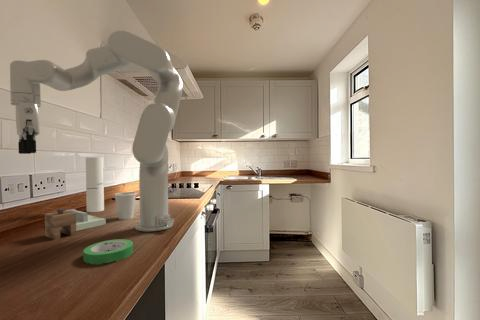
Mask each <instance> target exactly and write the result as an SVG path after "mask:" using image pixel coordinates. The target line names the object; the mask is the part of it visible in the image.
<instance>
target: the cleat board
mask: <svg viewBox="0 0 480 320" xmlns="http://www.w3.org/2000/svg"><path fill="white" fill-rule="evenodd" d="M64 211H69V212H74V213H76V232H77V231H81V230H86V229H91V228H96V227H99V226H104V225H106V224H107V223H106V222H107V221H106V218H103V217H99V216H95V215H90V214H88V213H89V212H87V211H85V212H84V211H82V210H77V209H76V208H72V209H66V210H64ZM60 230H61V227H60Z"/></svg>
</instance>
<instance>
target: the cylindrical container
mask: <svg viewBox="0 0 480 320" xmlns="http://www.w3.org/2000/svg"><path fill="white" fill-rule="evenodd" d="M104 185H105V184H104V157H102V156H101V157H100V156H99V157H96V156H95V157H92V156H91V157H85V187H86V189H85V192H86V196H85V197H86V199H85V200H86V202H85V203H86V213H98V212H103V211H105V195H104V194H105V191H104V190H105V189H104V187H105V186H104Z"/></svg>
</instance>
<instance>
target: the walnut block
mask: <svg viewBox="0 0 480 320" xmlns="http://www.w3.org/2000/svg"><path fill="white" fill-rule="evenodd" d="M60 227H61V229H60ZM61 234H65V235H67V236H70V237H72V236H76V235H77V231H76V213H74V212H69V211H65V210H64V209H63V208H57V211H56V212H55V211H54V212H51V213H50V212H49V213H44V236H45V237H46V238H49V239H51V240H60V239H61Z"/></svg>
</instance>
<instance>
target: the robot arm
mask: <svg viewBox="0 0 480 320" xmlns="http://www.w3.org/2000/svg"><path fill="white" fill-rule="evenodd" d="M136 66H139V67H141V68H143V69H145V70H147V73H148V74H149V75H150V77H151V78H152V79H153V80H154V81H156V83H157V84H158V88H157V91H156V93H155V97H154V100H153V102H151V103H149V104H148V105H147V106H146V107H145V108H144V109H143V111H142V113H141V115H140V119H139V120H138V121H139V122H138V125H137V130H136V132H135V136H134V139H133V144H132V147H131V148H132V155H133V157H134V158H135V160H136V161H137V162H139V171H138V172H139V175H138V176H139V177H138V179H139V180H138V181H139V182H138V183H139V184H138V185H139V186H138V187H139V191H138V193H139V196H138V197H139V222H137V223H136V224H135V225H134V228H135V230H136V231H139V232H158V231H163V230H168V229H170V228H172V227H173V226H174V222H175V219H174V218H171V214H170V213H169V179H168V178H169V172H168V171H169V170H168V169H169V168H168V167H169V150H168V145H167V140H168V137H169V134H170V132H172V130H173V129H174V127H175V124H176V119H177V115H178V111H179V108H180V103H181V99H182V95H183V90H184V89H183V87H184V85H183V79H182V78H181V75H180V74H179V72H178V71H177V70H176V68H175V67H174V66H173V64H172V61H171V56H170V55H169V54H168V52H167V51H166V50H165V49H164V48H163V47H161V46H159V45H157V44H155V43H153V42H151V41H150V40H147V39H145V38H143V37H140V36H139V35H136V34H134V33H132V32H129V31H126V30H122V29H121V30H114V31H113V32H112V33H110V34H109V36H108V37H107V44H106V45H102V46H98V47H95V48H90V49H88V50H87V51H86V52H85V59H84V61H83V62H82V63H81V64H79V65H77V66H74V67H69V68H65V69H64V68H63V67H61V66H59V65H58V64H56V63H54V62H53V61H50V60H48V59H47V60H46V59H38V60H37V59H36V60H31V61H26V60H13V61H11V62H10V64H9V79H10V80H9V82H10V83H9V85H10V88H9V90H10V92H9V93H10V104H11V105H12V106H15V125H16V127H15V129H16V135H17V136H18V154H20V155H21V154H24V155H25V154H27V155H28V154H36V153H37V140H36V136H39V135H40V133H41V132H40V131H41V130H40V117H39V116H40V115H39V108H41V107H42V104H41V101H42V99H41V84H42V85H44V86H47V87H49V88H52V89H54V90H56V91H60V92H66V91H67V92H68V91H73V90H76V89H79V88H83V87H86V86H88V85H90V84H92V83H93V82H95V81H96V80H97V79H99V77H102V76H105V75H108V74H112V73H116V72H120V71H122V70H125V69H129V68H133V67H136Z"/></svg>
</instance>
